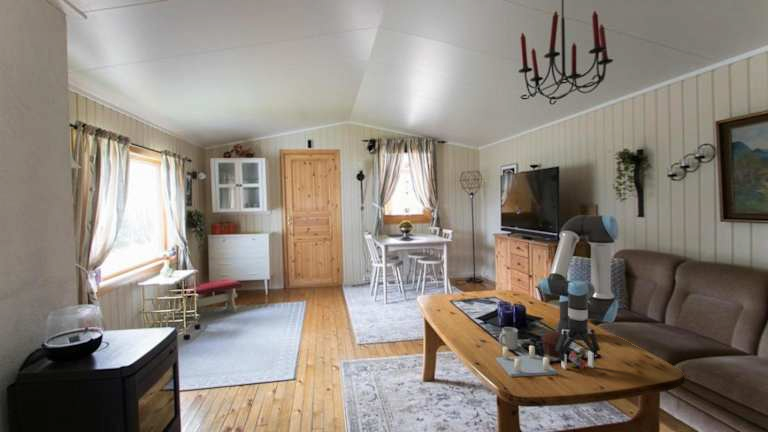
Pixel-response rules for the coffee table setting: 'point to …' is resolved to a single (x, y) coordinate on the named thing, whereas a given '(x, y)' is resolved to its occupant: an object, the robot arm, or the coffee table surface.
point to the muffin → (551, 343)
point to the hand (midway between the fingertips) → (577, 367)
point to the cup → (509, 338)
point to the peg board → (525, 364)
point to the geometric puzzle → (577, 360)
